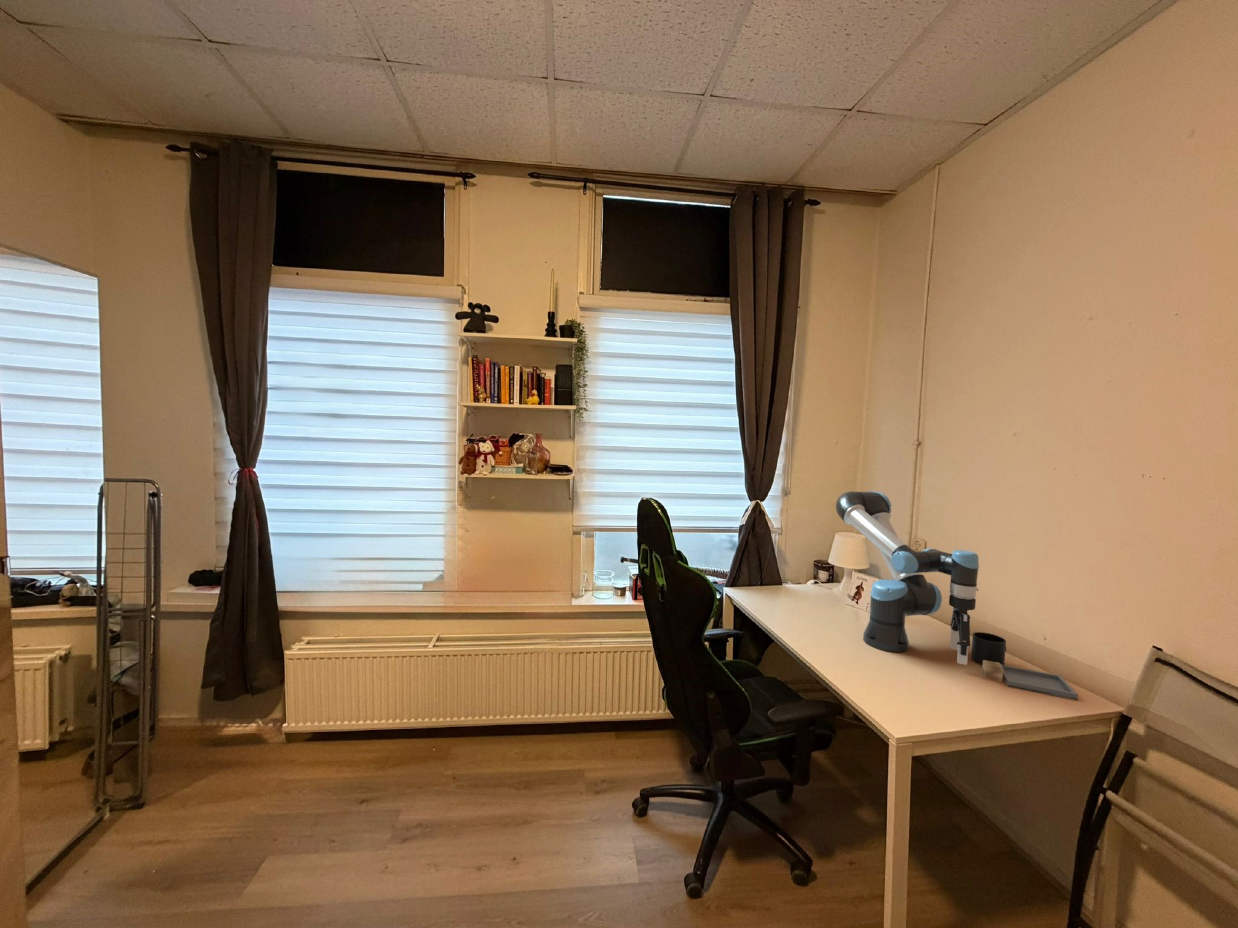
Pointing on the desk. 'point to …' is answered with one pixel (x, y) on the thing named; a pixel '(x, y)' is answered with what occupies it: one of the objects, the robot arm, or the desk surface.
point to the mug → (988, 648)
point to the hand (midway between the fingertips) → (958, 656)
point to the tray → (1037, 682)
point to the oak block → (992, 670)
